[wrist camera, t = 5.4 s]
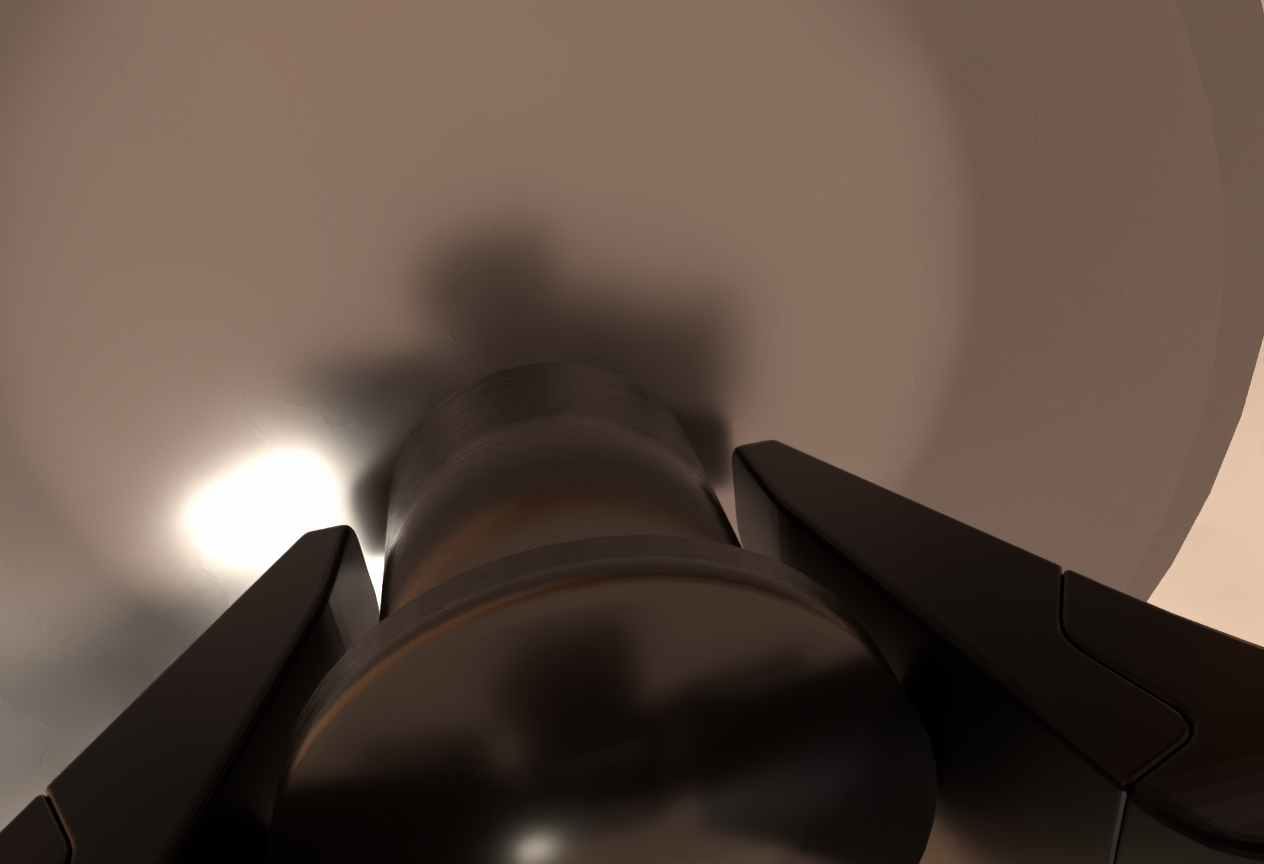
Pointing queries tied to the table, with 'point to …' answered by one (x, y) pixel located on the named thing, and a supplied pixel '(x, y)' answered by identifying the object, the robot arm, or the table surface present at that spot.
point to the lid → (595, 376)
